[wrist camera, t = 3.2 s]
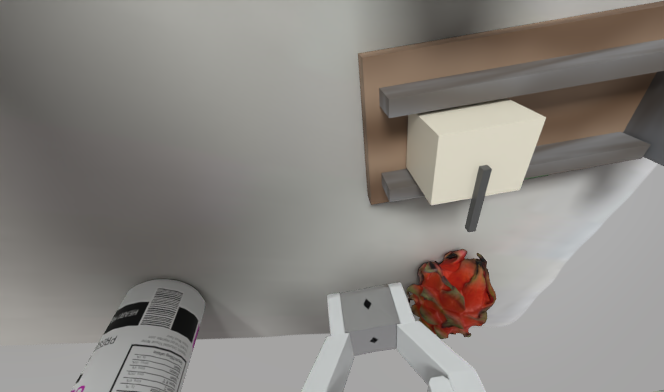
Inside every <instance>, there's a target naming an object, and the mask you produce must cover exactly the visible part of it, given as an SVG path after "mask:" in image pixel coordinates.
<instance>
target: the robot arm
mask: <svg viewBox="0 0 664 392" xmlns="http://www.w3.org/2000/svg"><path fill="white" fill-rule="evenodd" d="M327 303H328V314H329V325H330V335H331V336H327V337H326V339H325V342H324V344H323V346H322V348H321V350H320V352H319V354H318V356H317V359H316V361H315V363H314V365H313V367H312V369H311V371H310V373H309V376H308V378H307V380H306V382H305V384H304V386H303V388H302V390H301V392H343V390H344V387H345V384H346V381H347V378H348V375H349V372H350V369H351V366H352V363H353V360H354V356H355V355H360V354H365V353H370V352H375V351H383V350H389V349H397V350H398V352H399V353H400V354H401V355H402V356H403V357H404V359H405V360H406V361H407V362H408V363H409V364H410V365H411V367H413V369H414V370H415V371H416V372H417V373H418V375H419V376H420V377H421V378H422V379H423V380H424V382H425V383H426V384H427V385H428V390H427V392H486V391H485V389H484V387H483V385H482V383H481V381H480V378H479V376H478V374H477V372H476V370H475V369H474V368H473V367H472V366H471V365H470V364H468V363H467V362H466V361H465V360H464V359H462V358H461V357H460V356H459V355H458V354H457V353H456V352H455V351H453V350H452V349H451V348H450V347H449V346H447V344H445V343H444V342H443V341H442V340H441V339H440V338H439V337H437V336H436V335H435V334H434V333H433V332H432V331H431V330H429V329H428V328H427V327H426V326H425V325H424V324H422V323H421V322H420V321H415V319H414V316H413V313H412V311H411V308H410V305H409V303H408V300H407V297H406V294H405V292H404V289H403V286H402V284H401V283H400V282H397V283H392V284H384V285H379V286H374V287H369V288H364V289H359V290H353V291H347V292H341V293H340V292H339V293H334V294H328V295H327ZM655 392H664V390H661V391H655Z"/></svg>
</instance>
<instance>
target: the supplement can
mask: <svg viewBox="0 0 664 392" xmlns="http://www.w3.org/2000/svg"><path fill="white" fill-rule="evenodd" d="M204 310H205V301H204V299H203V298H202V296H201V295H200V294H199V292H198V291H197V290H196V289H195V288H193V287H192V286H191V285H188V284H186V283H183V282H181V281H176V280H170V279H155V280H150V281H146V282H144V283H142V284H138V285H136V286H134V287H133V288H131V289H130V290H129V291H128V292H127V294H126V296H125V298H124V299H123V301H122V303H121V305H120V306H119V308H118V310H117V312H116V314H115V315H114V317H113V319H112V321H111V322H110V324H109V326H108V328H107V329H106V331H105V333H104V335H103V336H102V338H101V340H100V342H99V343H98V345H97V347H96V349H95V350H94V352H93V354H92V356H91V357H90V359H89V361H88V363H87V364H86V366H85V368H84V370H83V371H82V373H81V375H80V377H79V379H78V380H77V382H76V384H75V385H74V387H73V389H72V391H71V392H181V389H182V385H183V382H184V379H185V375H186V372H187V368H188V365H189V362H190V358H191V355H192V351H193V348H194V344H195V341H196V338H197V334H198V331H199V327H200V324H201V321H202V317H203V314H204Z"/></svg>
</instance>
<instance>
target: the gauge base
mask: <svg viewBox="0 0 664 392" xmlns="http://www.w3.org/2000/svg"><path fill="white" fill-rule="evenodd" d="M358 60H359V75H360V89H361V104H362V118H363V133H364V148H365V162H366V177H367V191H368V197H369V200H370V203H371V205H373V204H378V203H384V202H393V201H400V200H406V199H412V198H417V197H423V196H425V195H424V194H423V192H422V191H421V189H420V188H419V186H418V185H417V183H416V181H415V180H414V178H413V177H412V175H411V174H410V172H409V170H408V169H407V167H406V161H407V135H408V115H411V114H417V113H423V112H428V111H434V110H440V109H446V108H452V107H457V106H463V105H469V104H475V103H480V102H486V101H492V100H498V99H504V98H508V99H510V100H512V101H514V102H516V103H518V104H520V105H522V106H524V107H526V108H528V109H530V110H532V111H534V112H536V113H538V114H540V115H542V116H544V117H546V119H545V122H544V125H543V128H542V131H541V133H540V136H539V139H538V142H537V144H536V147H535V150H534V153H533V155H532V158H531V161H530V164H529V166H528V169H527V172H526V175H525V177H524V180H525V179H530V178H536V177H542V176H548V175H550V174H556V173H562V172H567V171H573V170H579V169H585V168H590V167H595V166H601V165H606V164H612V163H618V162H624V161H629V160H635V159H641V158H642V157H645V158H647V159H650V160H652V161H654V162H656V163H658V164H661V165H663V166H664V1H661V2H655V3H649V4H644V5H638V6H632V7H626V8H620V9H615V10H609V11H603V12H597V13H591V14H586V15H580V16H574V17H568V18H562V19H557V20H551V21H545V22H539V23H533V24H527V25H522V26H516V27H510V28H504V29H498V30H493V31H487V32H481V33H475V34H469V35H464V36H458V37H452V38H446V39H440V40H435V41H429V42H423V43H417V44H411V45H406V46H400V47H394V48H388V49H382V50H377V51H371V52H365V53H359V54H358Z"/></svg>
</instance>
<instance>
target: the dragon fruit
mask: <svg viewBox="0 0 664 392" xmlns="http://www.w3.org/2000/svg"><path fill="white" fill-rule="evenodd" d="M466 254H467V251H466V250H464V249H461V250H457V251H456V252H455V251H454V252H449V253H448V254H446V255H445V257H444V258H443V259H445V258H446V257H447V256H448V255H449V256H448V257H447V258H446V259H445V260H444V261H443V262H442V263H441V264H438V263H437V262H436V261H435V262H436V263H435V262H428V263H427V264H426V263H424V264H423V265H422V266H421V268H419V272H418V276H419V277H420V280H419V285H416V284H412V285H411V286H409V287H408V288H407V291H406V292H407V295H408V296H409V298H408V301H409V303H410V300H414V301H415V304H414V305H412V307H411V311H412V313H413V314H415V315H416V316H418V317H420V319H419V320H418V321H420V322H421V323H422V324H424V325H425V326H426V327H427V328H428V329H429V330H431V331H432V332H433V333H434V334H436V335H437V337H439V338H440V339H444V338H448V335H449V334H456V333H462V334H463V335H464V337H470V336H471V333H469V332H468V329H469V327H471V326H482V325H483V324H484V323H485V322H486V320H487V312H486V311H487V310H488V309H489V308H490V307H491V306H492V305H493V304H494V303H495V300H496V294H495V291H494V290H493V288H492V286H491V283H490V279H489V272H488V269H487V268H486V264H487V261H486V260H485V259H484V258H483V256H482V255H480V254H479V253H477V256H478V257H479V258H480V259H474V258H473V259H465V258H464V257H465V256H466ZM454 255H455V256H454ZM409 292H411V293H413V294H412V295H411V296H410V294H409Z"/></svg>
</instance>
